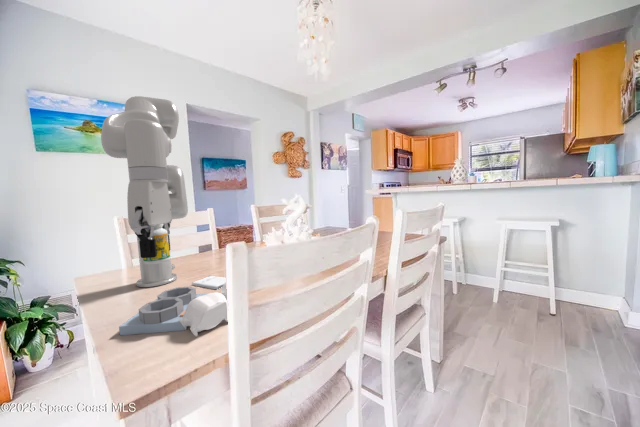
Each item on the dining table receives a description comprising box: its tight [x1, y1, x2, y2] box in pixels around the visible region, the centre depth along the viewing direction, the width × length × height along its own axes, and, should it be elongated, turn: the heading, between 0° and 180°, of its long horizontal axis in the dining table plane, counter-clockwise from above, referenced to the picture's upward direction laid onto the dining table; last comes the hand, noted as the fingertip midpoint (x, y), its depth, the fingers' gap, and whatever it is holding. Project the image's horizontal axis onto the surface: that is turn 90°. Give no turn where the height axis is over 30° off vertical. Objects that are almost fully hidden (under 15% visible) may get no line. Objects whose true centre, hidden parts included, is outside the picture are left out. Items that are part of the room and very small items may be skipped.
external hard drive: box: [191, 275, 227, 290], centre depth 91 cm, size 2×8×12 cm
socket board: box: [118, 286, 210, 336], centre depth 67 cm, size 17×14×4 cm
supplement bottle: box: [143, 223, 171, 264], centre depth 62 cm, size 5×5×10 cm
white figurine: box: [179, 283, 228, 338], centre depth 63 cm, size 9×8×15 cm
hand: (156, 253), depth 62 cm, fingers closed on supplement bottle, 5 cm apart
